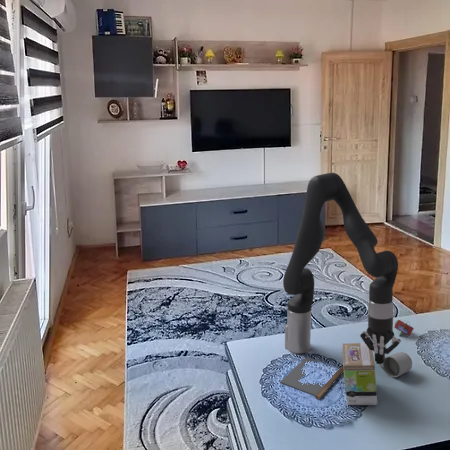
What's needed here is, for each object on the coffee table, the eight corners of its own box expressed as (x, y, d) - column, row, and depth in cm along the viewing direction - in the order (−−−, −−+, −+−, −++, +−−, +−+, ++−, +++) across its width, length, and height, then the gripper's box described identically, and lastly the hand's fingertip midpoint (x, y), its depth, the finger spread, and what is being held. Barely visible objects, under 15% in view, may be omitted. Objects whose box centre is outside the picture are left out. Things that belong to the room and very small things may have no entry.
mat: (279, 382, 174) (279, 381, 174) (306, 357, 189) (306, 356, 189) (315, 396, 166) (315, 395, 166) (340, 369, 181) (340, 368, 181)
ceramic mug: (413, 373, 178) (414, 354, 176) (399, 381, 173) (400, 361, 171) (388, 361, 186) (389, 343, 184) (374, 368, 181) (375, 350, 179)
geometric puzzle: (418, 329, 205) (407, 313, 205) (415, 336, 199) (404, 319, 200) (403, 335, 209) (393, 319, 209) (400, 342, 203) (389, 326, 204)
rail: (315, 398, 165) (315, 395, 165) (342, 368, 182) (342, 365, 182) (319, 399, 164) (319, 396, 164) (345, 369, 181) (345, 367, 181)
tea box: (378, 405, 158) (375, 364, 155) (346, 406, 161) (342, 365, 157) (374, 379, 172) (371, 341, 169) (345, 379, 175) (341, 342, 171)
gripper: (355, 313, 156) (355, 363, 160) (397, 321, 149) (396, 373, 153) (364, 305, 162) (364, 353, 166) (405, 313, 155) (404, 363, 158)
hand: (379, 363), depth 159 cm, fingers closed
